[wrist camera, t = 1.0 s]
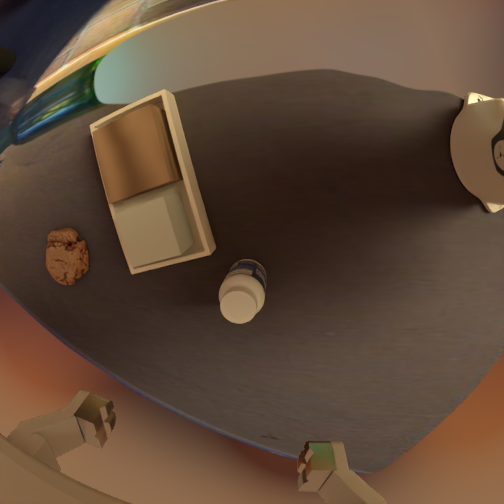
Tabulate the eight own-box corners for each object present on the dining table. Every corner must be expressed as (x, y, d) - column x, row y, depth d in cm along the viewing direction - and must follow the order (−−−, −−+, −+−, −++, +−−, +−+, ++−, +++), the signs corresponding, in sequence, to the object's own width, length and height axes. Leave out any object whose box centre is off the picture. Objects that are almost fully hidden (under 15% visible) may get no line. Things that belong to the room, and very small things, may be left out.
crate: (174, 95, 35) (164, 89, 31) (216, 247, 40) (210, 254, 37) (102, 127, 37) (89, 125, 33) (142, 266, 42) (131, 274, 38)
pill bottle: (269, 293, 41) (266, 327, 32) (231, 296, 42) (218, 330, 32) (264, 255, 40) (260, 282, 30) (225, 260, 40) (209, 286, 31)
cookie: (47, 269, 44) (37, 274, 42) (54, 216, 41) (43, 219, 39) (85, 294, 45) (76, 301, 42) (96, 239, 42) (86, 244, 39)
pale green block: (180, 192, 38) (163, 196, 32) (195, 242, 39) (181, 254, 34) (136, 207, 39) (114, 214, 33) (151, 254, 40) (132, 267, 35)
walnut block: (165, 110, 35) (150, 103, 30) (183, 179, 37) (170, 181, 32) (111, 135, 36) (91, 132, 32) (127, 199, 39) (109, 203, 34)
